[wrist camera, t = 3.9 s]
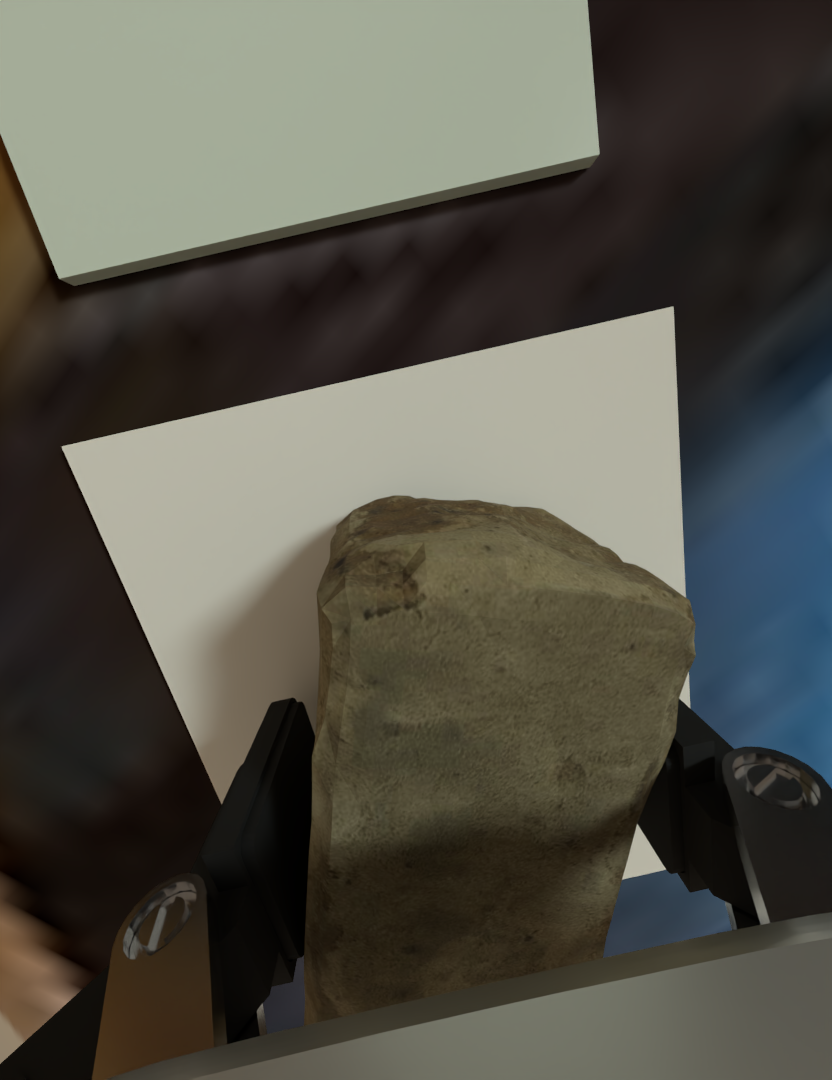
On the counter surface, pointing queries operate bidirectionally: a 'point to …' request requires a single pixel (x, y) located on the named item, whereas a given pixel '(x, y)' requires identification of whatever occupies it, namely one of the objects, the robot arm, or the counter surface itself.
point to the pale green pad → (277, 116)
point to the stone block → (477, 747)
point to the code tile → (361, 477)
